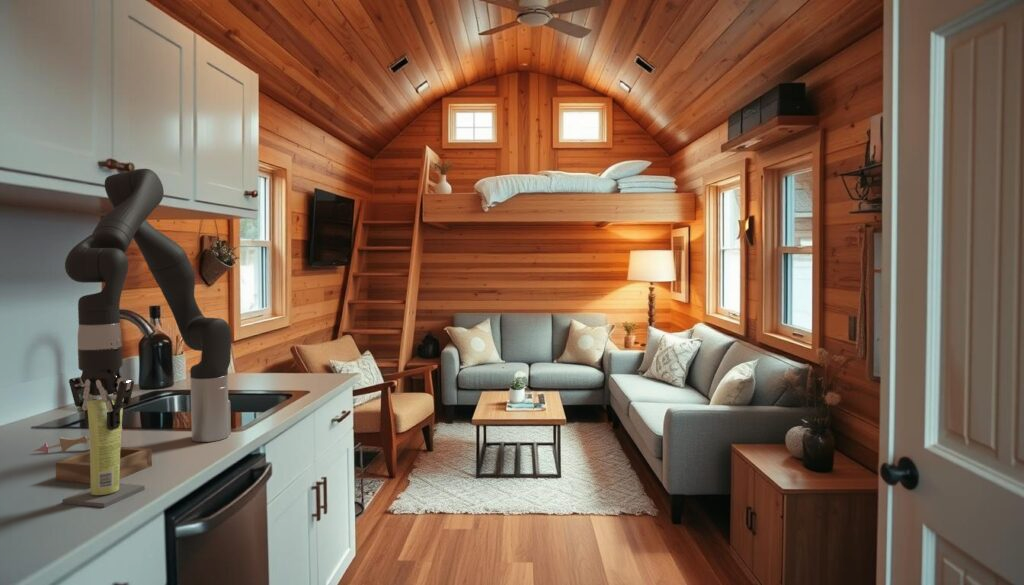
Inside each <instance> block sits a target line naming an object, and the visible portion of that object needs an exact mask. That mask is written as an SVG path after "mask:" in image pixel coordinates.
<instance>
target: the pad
mask: <svg viewBox="0 0 1024 585" xmlns="http://www.w3.org/2000/svg"><path fill="white" fill-rule="evenodd" d="M144 490H145V485H144V484H143V485H140V484H132V483H131V484H130V483H120V482H119V490H118V491H116V492H114V493H111V494H106V495H92V494H91V487H90V488H87V489H85V490H82V491H80V492H77V493H75V494H73V495H70V496H67V497H65V498H63V499H61V501H62V504H65V505H66V504H67V505H77V506H85V507H86V506H87V507H96V508H97V507H98V508H106V507H108V506H111V505H112V504H115V503H118V502H120V501H121V500H124V499H126V498H128V497H131V496H132V495H135V494H137V493H140V492H141V491H144Z"/></svg>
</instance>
